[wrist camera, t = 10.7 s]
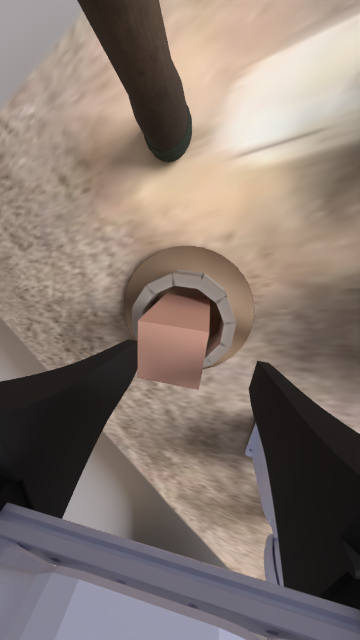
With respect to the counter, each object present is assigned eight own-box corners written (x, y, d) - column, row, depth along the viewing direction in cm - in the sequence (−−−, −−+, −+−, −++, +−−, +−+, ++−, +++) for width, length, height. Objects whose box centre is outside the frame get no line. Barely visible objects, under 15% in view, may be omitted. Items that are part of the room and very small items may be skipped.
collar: (236, 374, 22) (241, 399, 18) (128, 354, 24) (113, 374, 20) (268, 254, 17) (285, 255, 13) (126, 239, 18) (105, 236, 15)
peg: (203, 337, 20) (198, 389, 12) (164, 331, 20) (137, 377, 13) (210, 298, 18) (209, 332, 11) (166, 292, 19) (138, 320, 11)
